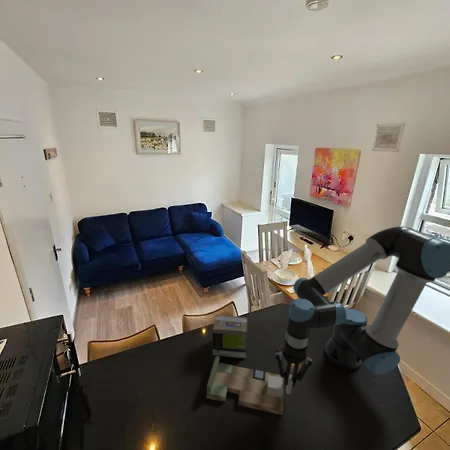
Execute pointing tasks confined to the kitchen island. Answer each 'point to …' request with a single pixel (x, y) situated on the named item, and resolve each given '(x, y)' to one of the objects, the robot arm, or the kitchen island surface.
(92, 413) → the kitchen island surface
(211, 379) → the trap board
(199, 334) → the kitchen island surface
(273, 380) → the cream block
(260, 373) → the block
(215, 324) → the tea box
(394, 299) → the robot arm
